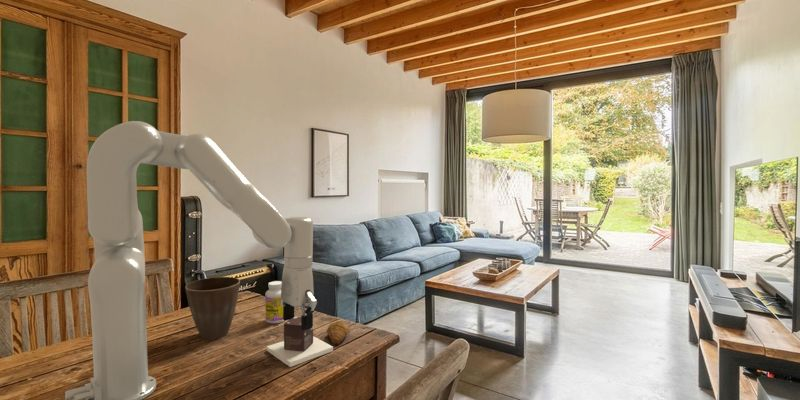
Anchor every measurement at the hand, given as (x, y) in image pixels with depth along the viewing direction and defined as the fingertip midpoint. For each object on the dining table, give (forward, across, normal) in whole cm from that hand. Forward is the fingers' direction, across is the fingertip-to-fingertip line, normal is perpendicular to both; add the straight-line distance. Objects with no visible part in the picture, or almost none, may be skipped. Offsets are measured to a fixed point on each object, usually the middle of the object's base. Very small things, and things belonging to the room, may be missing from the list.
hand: (297, 323), depth 105 cm
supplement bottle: (+8, -26, +7) cm, 28 cm away
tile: (+8, 0, +1) cm, 8 cm away
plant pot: (+8, -28, -12) cm, 31 cm away
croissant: (+8, 0, +14) cm, 16 cm away
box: (+7, 0, +1) cm, 7 cm away
